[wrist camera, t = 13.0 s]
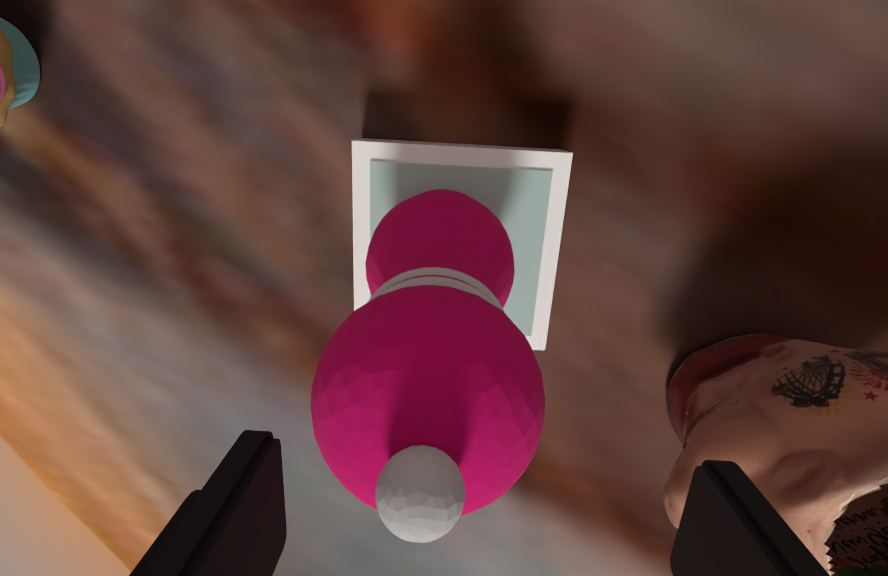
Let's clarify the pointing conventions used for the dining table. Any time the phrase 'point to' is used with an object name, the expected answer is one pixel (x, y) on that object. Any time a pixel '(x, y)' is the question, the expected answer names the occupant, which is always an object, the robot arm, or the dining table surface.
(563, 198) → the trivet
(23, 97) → the cupcake
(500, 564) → the dining table surface
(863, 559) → the decorative planter
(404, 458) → the pepper mill
